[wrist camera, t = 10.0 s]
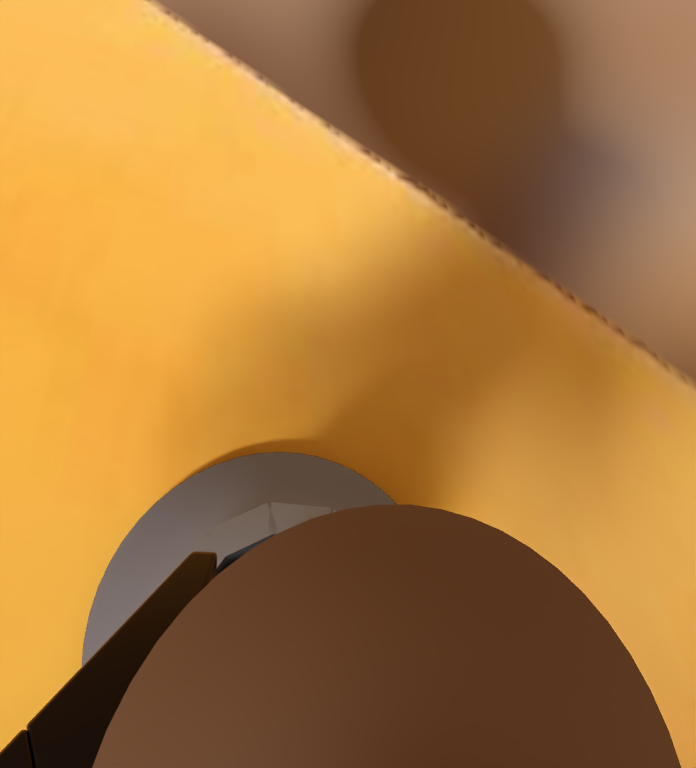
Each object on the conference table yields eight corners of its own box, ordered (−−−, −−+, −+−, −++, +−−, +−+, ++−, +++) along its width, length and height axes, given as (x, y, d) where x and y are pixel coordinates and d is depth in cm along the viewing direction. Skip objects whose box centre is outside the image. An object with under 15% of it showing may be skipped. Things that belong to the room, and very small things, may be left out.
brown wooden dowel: (354, 658, 14) (826, 969, 2) (251, 724, 13) (232, 1834, 1) (307, 553, 15) (489, 426, 3) (207, 607, 13) (-27, 687, 2)
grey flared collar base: (494, 574, 18) (584, 568, 13) (318, 954, 13) (357, 1179, 8) (249, 399, 19) (247, 332, 14) (-3, 689, 14) (-143, 743, 9)
